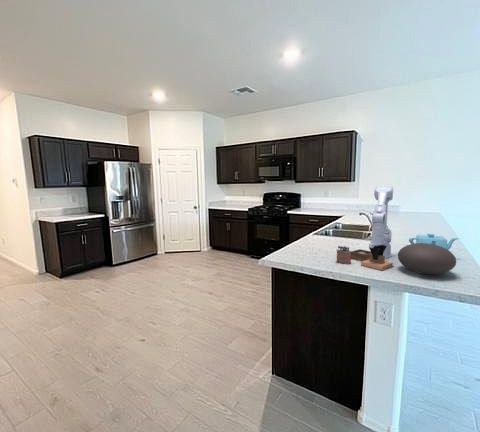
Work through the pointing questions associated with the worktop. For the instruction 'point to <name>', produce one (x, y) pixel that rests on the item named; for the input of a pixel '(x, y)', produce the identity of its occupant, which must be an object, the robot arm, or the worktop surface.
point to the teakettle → (433, 240)
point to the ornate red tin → (343, 255)
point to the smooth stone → (427, 258)
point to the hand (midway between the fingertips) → (377, 258)
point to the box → (360, 255)
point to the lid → (377, 262)
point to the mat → (379, 269)
